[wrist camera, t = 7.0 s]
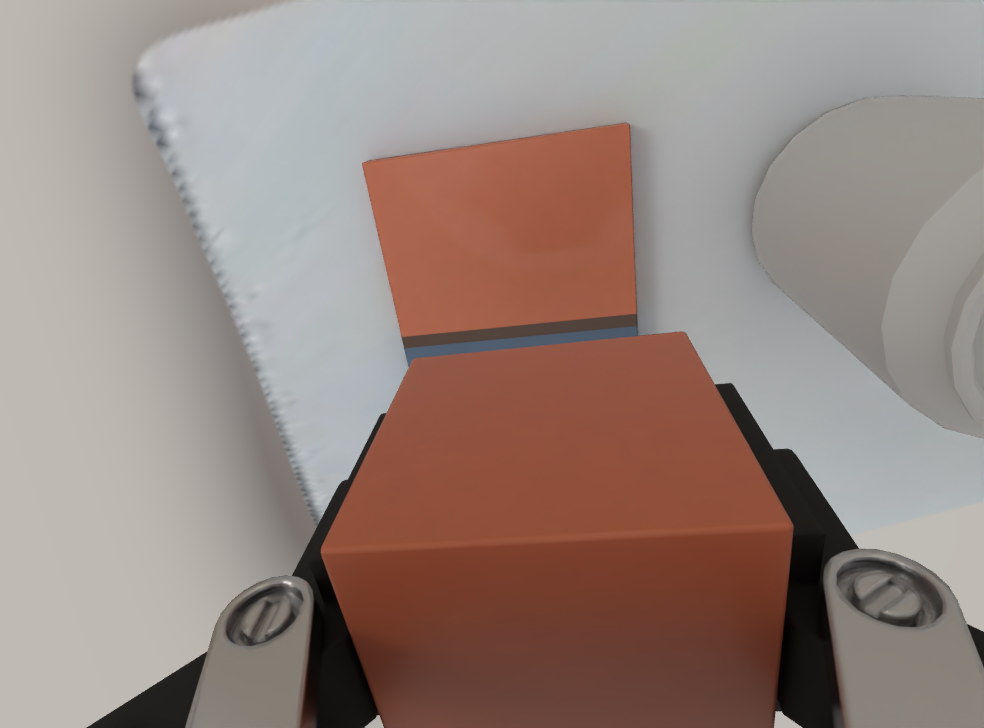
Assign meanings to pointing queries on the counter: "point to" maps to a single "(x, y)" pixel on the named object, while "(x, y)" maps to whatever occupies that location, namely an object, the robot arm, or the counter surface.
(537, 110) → the counter surface
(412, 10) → the counter surface
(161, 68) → the counter surface
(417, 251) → the sorting board
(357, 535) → the terracotta block
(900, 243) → the can
